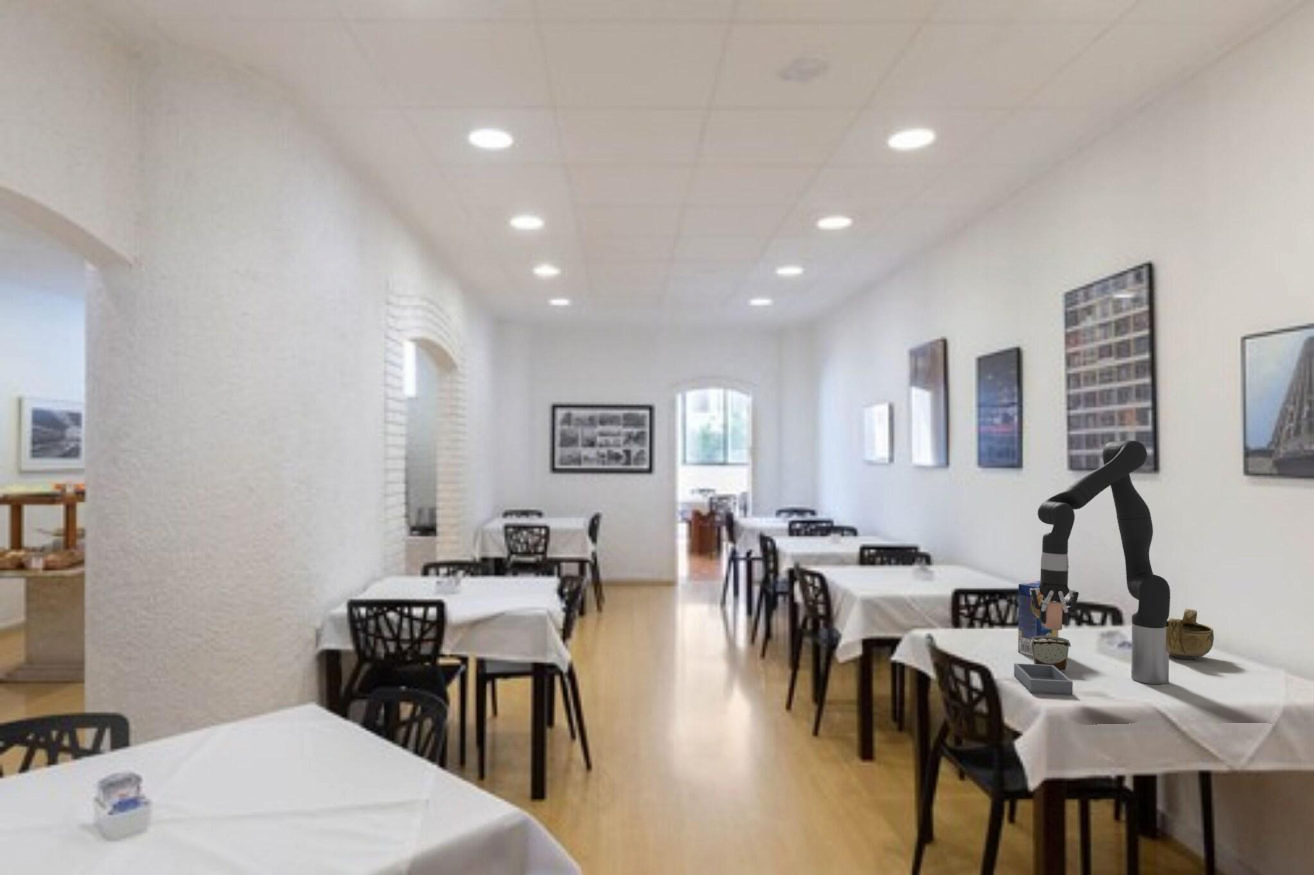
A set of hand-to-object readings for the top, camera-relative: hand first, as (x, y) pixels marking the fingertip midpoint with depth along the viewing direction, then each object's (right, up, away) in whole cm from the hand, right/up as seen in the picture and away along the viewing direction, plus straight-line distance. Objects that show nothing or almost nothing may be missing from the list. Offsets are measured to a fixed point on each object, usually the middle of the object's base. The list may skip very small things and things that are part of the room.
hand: (1052, 623), depth 247 cm
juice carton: (+14, -19, +39) cm, 46 cm away
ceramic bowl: (+62, -19, +34) cm, 73 cm away
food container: (+8, -19, +20) cm, 29 cm away
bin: (-3, -19, +1) cm, 19 cm away
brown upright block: (0, -1, 0) cm, 1 cm away
